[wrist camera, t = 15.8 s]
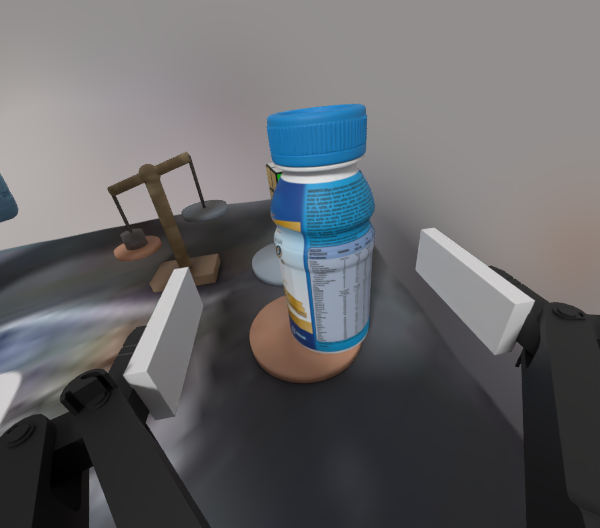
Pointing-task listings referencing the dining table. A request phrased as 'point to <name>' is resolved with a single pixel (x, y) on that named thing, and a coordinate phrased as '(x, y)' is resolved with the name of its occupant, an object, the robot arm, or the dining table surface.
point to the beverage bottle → (323, 224)
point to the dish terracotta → (291, 349)
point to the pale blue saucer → (267, 266)
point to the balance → (168, 226)
